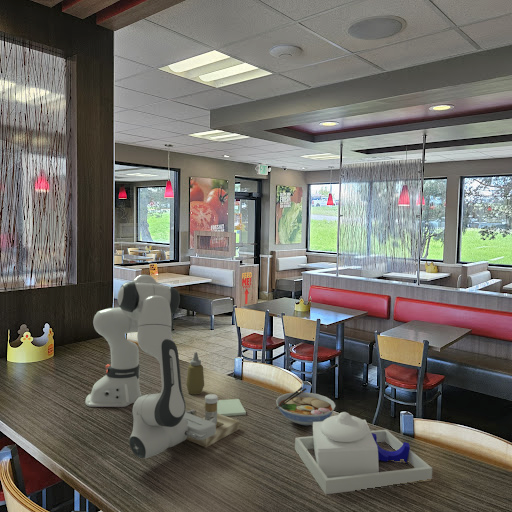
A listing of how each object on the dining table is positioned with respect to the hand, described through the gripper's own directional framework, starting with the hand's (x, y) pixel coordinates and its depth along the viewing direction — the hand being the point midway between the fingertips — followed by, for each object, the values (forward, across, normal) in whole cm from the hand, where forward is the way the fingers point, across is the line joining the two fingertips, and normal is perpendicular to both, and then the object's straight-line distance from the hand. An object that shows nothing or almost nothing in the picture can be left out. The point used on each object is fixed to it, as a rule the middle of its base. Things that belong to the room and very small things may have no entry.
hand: (204, 415), depth 157 cm
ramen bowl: (+34, -22, +8) cm, 41 cm away
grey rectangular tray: (+17, -51, +7) cm, 54 cm away
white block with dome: (+14, -47, +6) cm, 49 cm away
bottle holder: (+3, 0, +7) cm, 8 cm away
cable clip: (+25, -57, +7) cm, 62 cm away
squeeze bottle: (+28, +31, +8) cm, 43 cm away
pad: (+23, +9, +7) cm, 26 cm away
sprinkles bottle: (+3, 0, +8) cm, 8 cm away
